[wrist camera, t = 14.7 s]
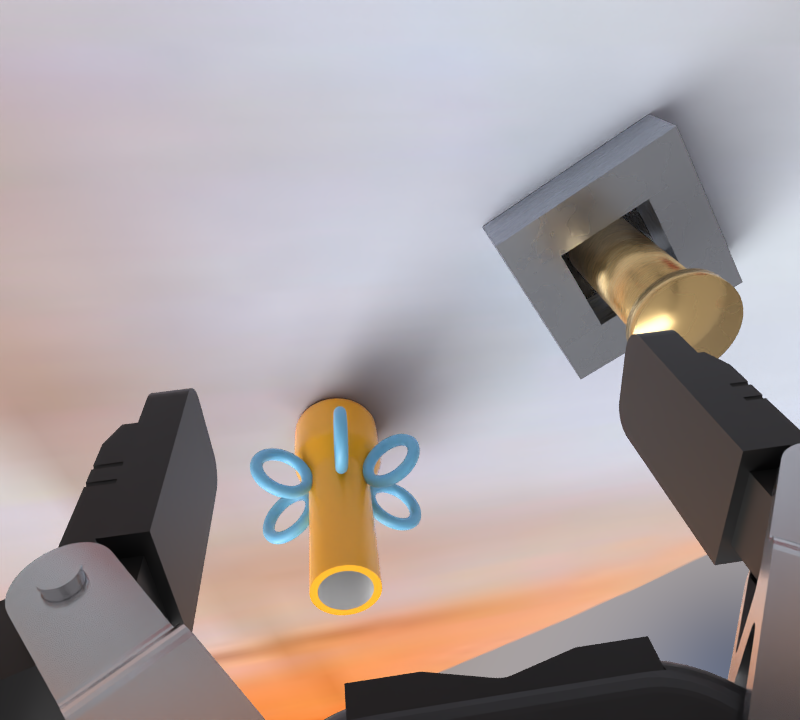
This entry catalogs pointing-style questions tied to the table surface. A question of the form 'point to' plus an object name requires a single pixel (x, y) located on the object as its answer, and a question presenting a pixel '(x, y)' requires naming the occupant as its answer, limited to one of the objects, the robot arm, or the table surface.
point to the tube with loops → (339, 500)
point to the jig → (594, 210)
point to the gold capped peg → (658, 289)
